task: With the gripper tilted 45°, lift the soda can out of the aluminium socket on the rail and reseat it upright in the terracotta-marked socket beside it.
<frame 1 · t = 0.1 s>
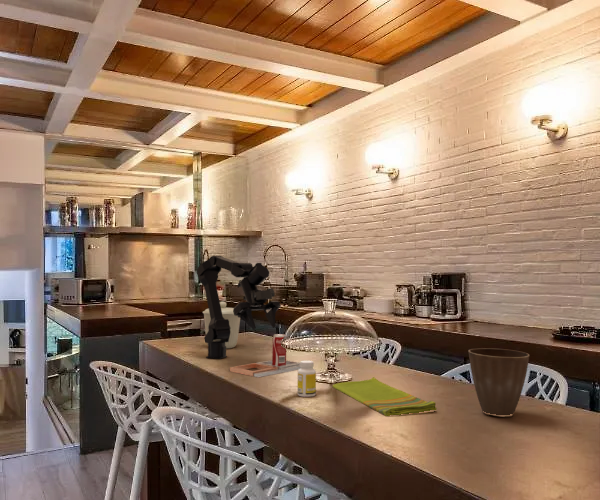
hand: (264, 328, 203), 15 cm above the counter, tool tilted 35°, fingers open, 9 cm apart
supplement bottle: (306, 395, 162), on the counter
canister: (221, 348, 254), on the counter
socket rail: (266, 369, 202), on the counter
dish towel: (380, 401, 159), on the counter
soda can: (279, 367, 207), resting in socket rail
plant pot: (498, 414, 144), on the counter
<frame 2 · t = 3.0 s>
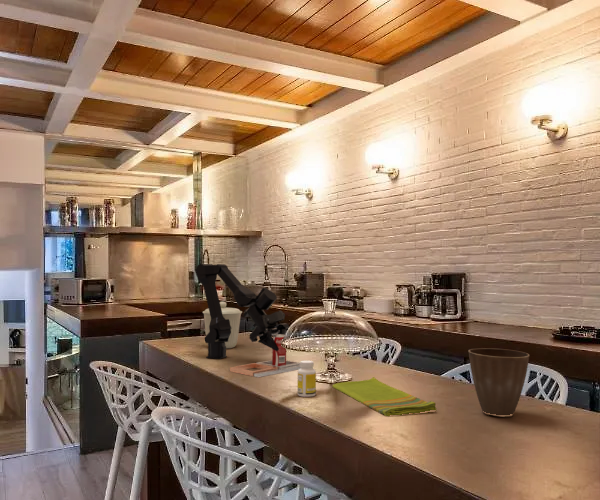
hand: (282, 349, 206), 7 cm above the counter, tool tilted 45°, fingers closed on soda can, 5 cm apart
soda can: (279, 367, 207), resting in socket rail, touching gripper
everything else where it was.
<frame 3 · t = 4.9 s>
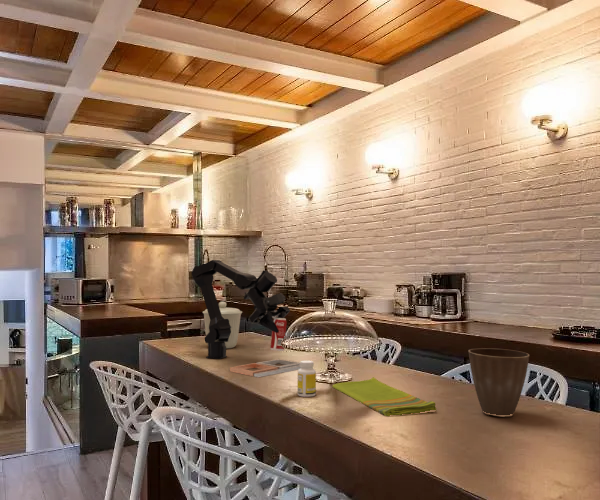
hand: (282, 331, 206), 13 cm above the counter, tool tilted 45°, fingers closed on soda can, 5 cm apart
soda can: (277, 350, 206), point 6 cm above the counter, touching gripper
everything else where it was.
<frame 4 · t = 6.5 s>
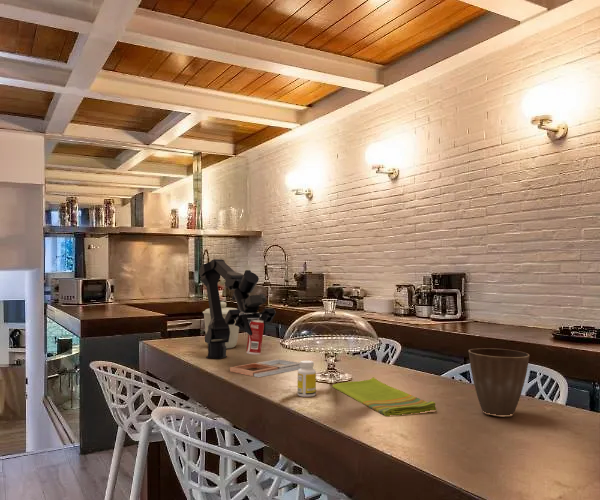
hand: (258, 334, 197), 13 cm above the counter, tool tilted 45°, fingers closed on soda can, 5 cm apart
soda can: (253, 354, 197), point 6 cm above the counter, touching gripper
everything else where it was.
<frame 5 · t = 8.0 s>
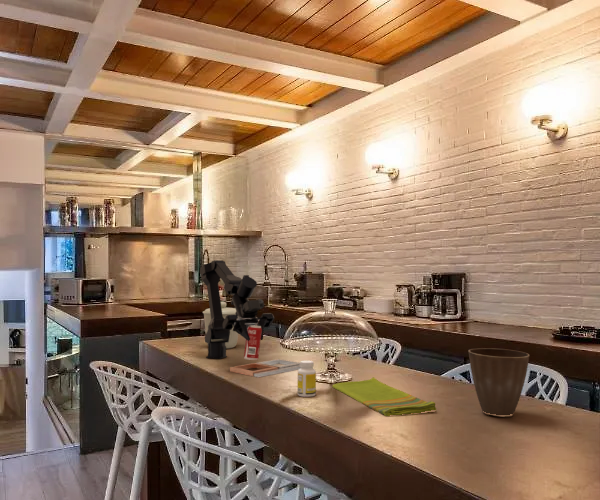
hand: (255, 339, 196), 11 cm above the counter, tool tilted 45°, fingers closed on soda can, 5 cm apart
soda can: (250, 359, 197), point 4 cm above the counter, touching gripper
everything else where it was.
when the fingers open (7 cm above the counter, at t = 9.5 s): soda can stays where it is, resting in socket rail.
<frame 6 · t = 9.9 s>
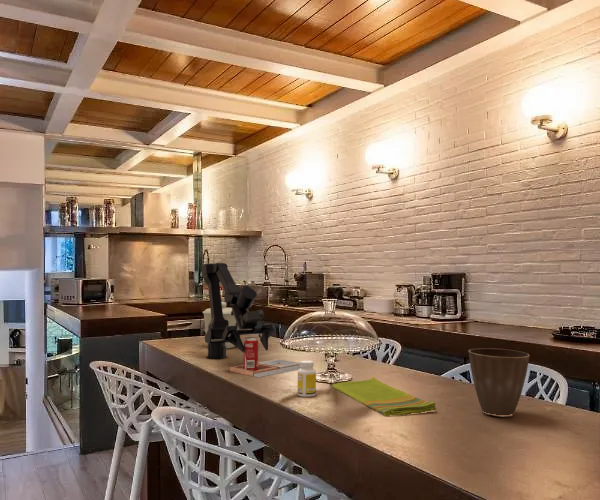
hand: (255, 350, 196), 8 cm above the counter, tool tilted 45°, fingers open, 9 cm apart
soda can: (250, 372, 197), resting in socket rail
everything else where it was.
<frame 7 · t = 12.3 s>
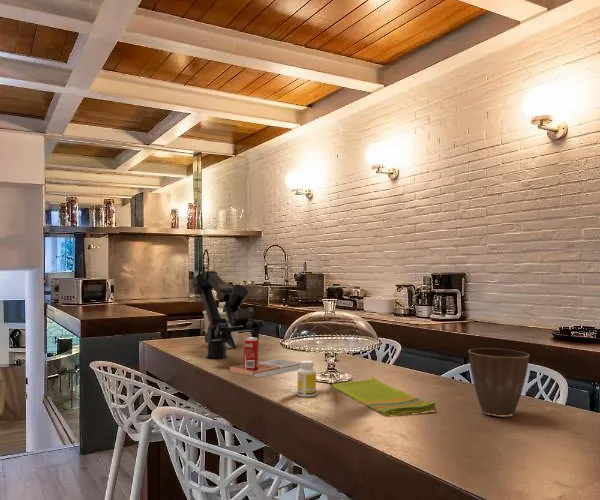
hand: (246, 347, 203), 8 cm above the counter, tool tilted 45°, fingers open, 9 cm apart
nothing on the counter moved.
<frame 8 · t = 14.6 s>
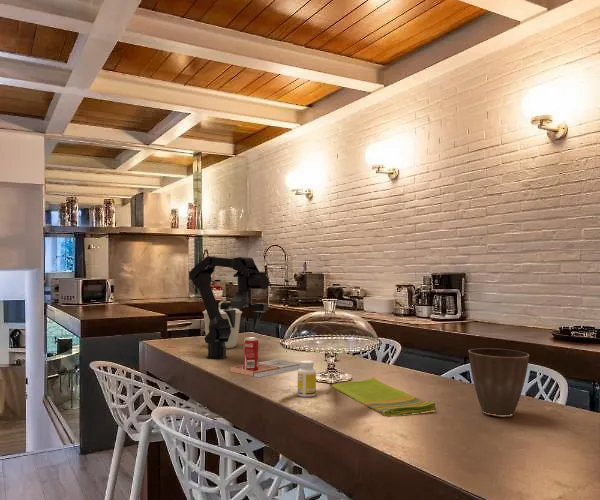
hand: (244, 328, 217), 13 cm above the counter, tool pointing down, fingers open, 9 cm apart
nothing on the counter moved.
at the end: soda can 1.1 cm from the target spot, resting in socket rail; soda can tilted 0°; the gripper is holding nothing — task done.
